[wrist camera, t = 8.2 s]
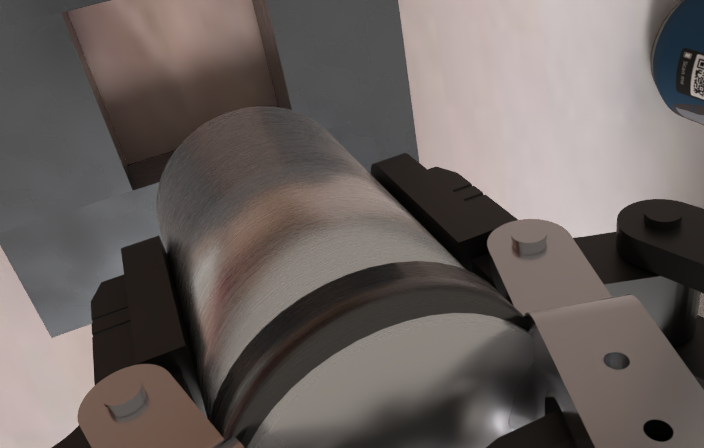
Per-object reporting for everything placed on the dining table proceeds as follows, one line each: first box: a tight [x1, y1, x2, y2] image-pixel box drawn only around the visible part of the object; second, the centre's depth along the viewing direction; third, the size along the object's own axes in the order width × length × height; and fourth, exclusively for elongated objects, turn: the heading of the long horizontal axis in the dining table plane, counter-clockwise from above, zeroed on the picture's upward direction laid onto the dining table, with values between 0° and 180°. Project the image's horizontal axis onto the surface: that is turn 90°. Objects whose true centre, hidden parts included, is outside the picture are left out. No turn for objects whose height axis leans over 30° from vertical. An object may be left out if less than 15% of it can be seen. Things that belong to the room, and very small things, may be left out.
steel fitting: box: [156, 106, 536, 448], centre depth 11 cm, size 5×5×8 cm
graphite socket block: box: [0, 0, 419, 337], centre depth 24 cm, size 16×16×2 cm
